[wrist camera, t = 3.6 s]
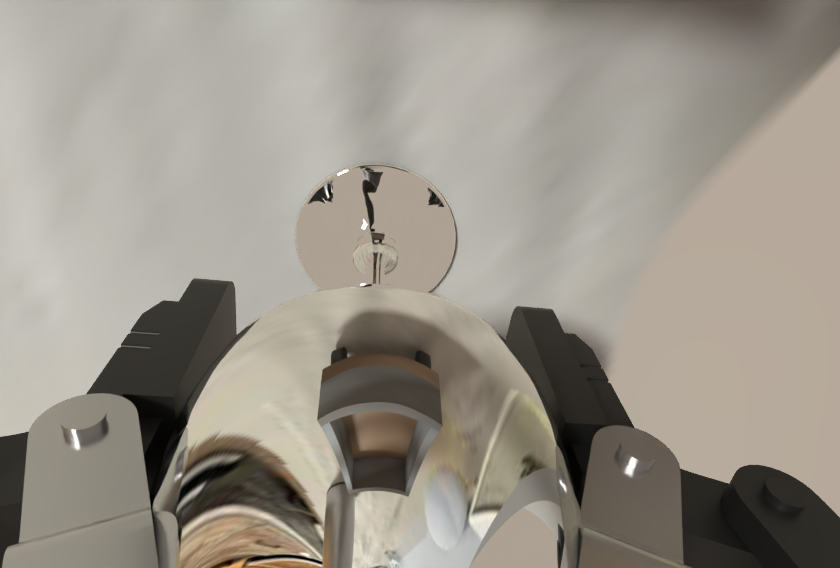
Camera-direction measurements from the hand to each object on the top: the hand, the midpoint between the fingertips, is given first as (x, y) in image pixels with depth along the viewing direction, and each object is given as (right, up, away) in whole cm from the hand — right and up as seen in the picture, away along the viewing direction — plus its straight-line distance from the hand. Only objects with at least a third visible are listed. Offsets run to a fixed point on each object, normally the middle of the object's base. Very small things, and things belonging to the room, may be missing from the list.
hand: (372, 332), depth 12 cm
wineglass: (0, +2, +4) cm, 5 cm away
